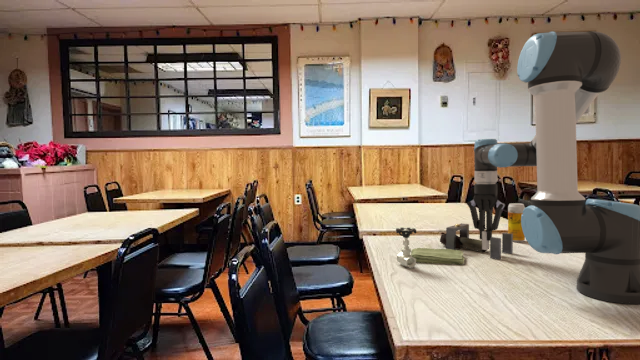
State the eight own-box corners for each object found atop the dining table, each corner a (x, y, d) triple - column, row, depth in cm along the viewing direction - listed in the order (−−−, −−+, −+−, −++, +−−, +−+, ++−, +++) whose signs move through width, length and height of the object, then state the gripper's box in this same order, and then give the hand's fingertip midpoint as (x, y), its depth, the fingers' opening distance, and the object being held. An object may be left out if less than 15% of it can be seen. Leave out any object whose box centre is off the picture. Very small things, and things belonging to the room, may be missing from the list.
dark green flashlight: (488, 251, 147) (488, 236, 147) (479, 255, 142) (479, 239, 142) (444, 244, 160) (444, 230, 160) (435, 247, 156) (435, 232, 155)
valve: (401, 270, 125) (401, 231, 124) (392, 264, 131) (391, 228, 130) (420, 268, 127) (420, 230, 126) (410, 263, 133) (410, 226, 132)
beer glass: (504, 240, 165) (504, 203, 164) (515, 238, 167) (515, 202, 166) (517, 243, 159) (517, 205, 158) (528, 241, 162) (528, 204, 161)
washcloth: (465, 267, 128) (465, 257, 128) (409, 264, 133) (409, 254, 133) (463, 257, 141) (463, 247, 141) (411, 254, 146) (411, 245, 146)
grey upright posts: (499, 259, 135) (499, 232, 134) (446, 251, 148) (446, 226, 148) (512, 253, 143) (512, 227, 143) (461, 245, 157) (461, 222, 156)
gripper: (463, 183, 145) (463, 248, 146) (500, 184, 135) (500, 253, 137) (472, 181, 150) (472, 244, 151) (508, 182, 141) (508, 250, 142)
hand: (485, 249), depth 144 cm, fingers closed
